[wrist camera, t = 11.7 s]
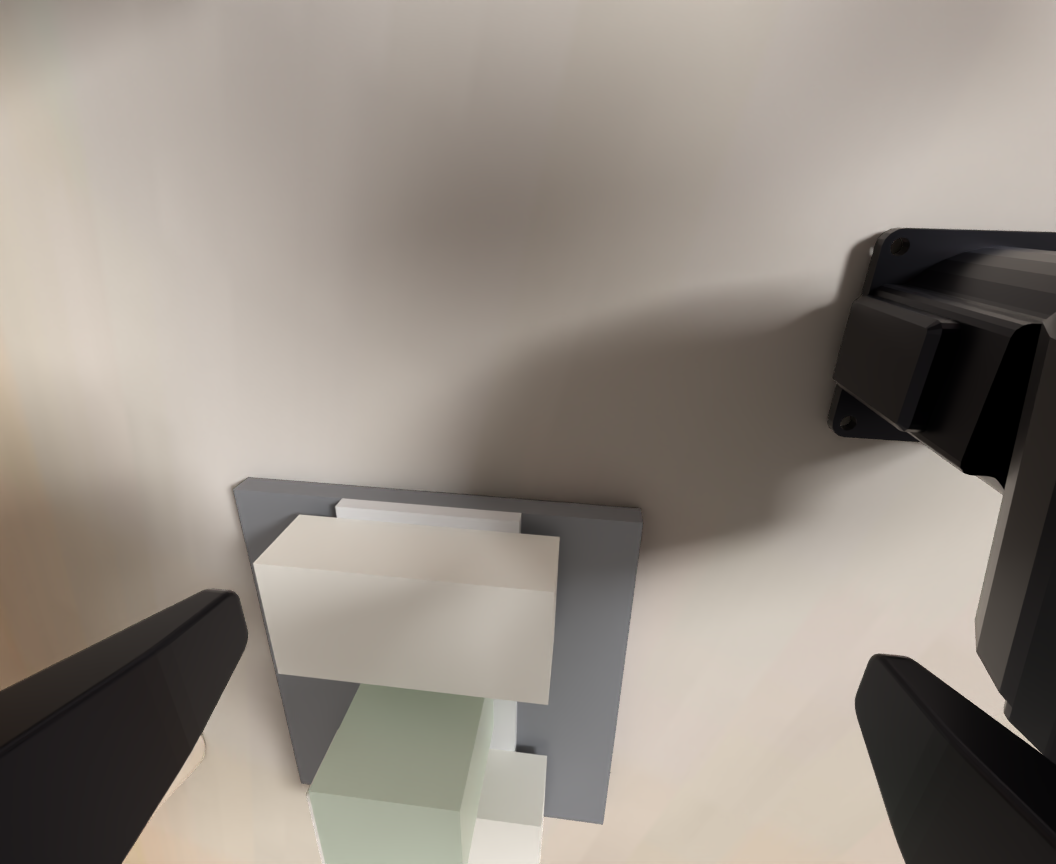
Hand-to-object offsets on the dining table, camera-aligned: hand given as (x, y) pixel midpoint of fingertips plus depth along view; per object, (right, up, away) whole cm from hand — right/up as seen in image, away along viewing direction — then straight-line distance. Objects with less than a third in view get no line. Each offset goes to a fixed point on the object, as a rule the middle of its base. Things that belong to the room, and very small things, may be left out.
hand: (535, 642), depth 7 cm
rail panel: (-4, -8, +17) cm, 19 cm away
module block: (-4, -8, +15) cm, 18 cm away
